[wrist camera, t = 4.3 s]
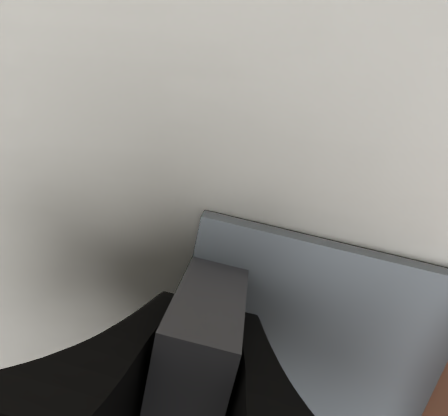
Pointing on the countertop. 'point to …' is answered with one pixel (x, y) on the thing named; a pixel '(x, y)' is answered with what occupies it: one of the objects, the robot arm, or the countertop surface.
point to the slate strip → (300, 323)
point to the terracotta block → (439, 397)
